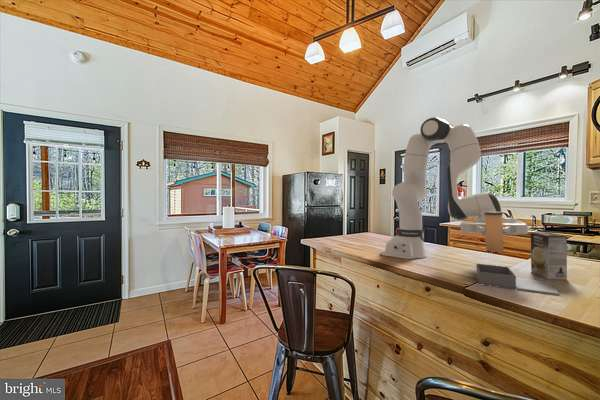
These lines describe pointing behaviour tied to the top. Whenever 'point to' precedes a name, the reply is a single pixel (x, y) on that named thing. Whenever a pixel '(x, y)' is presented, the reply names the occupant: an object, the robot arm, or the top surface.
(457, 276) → the top surface
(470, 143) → the robot arm
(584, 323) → the top surface
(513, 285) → the mailer box
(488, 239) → the lidded coffee cup
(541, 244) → the coffee box
